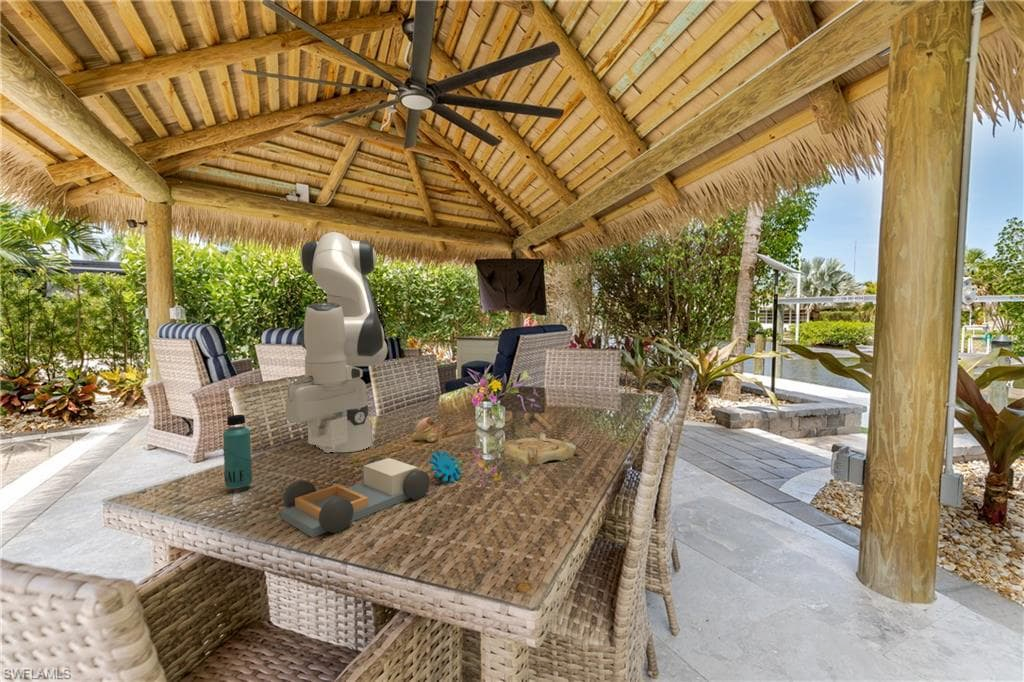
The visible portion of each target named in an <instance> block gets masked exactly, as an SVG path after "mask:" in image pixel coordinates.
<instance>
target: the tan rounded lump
mask: <svg viewBox="0 0 1024 682" xmlns="http://www.w3.org/2000/svg"><path fill="white" fill-rule="evenodd" d="M437 423H438V421H437V420H433V419H431V417H430V416H427V417H424V418H422V419H420V420H419V421H418V422H417V423H416V426H415V428H414V431H415V432H414V433H412V434H411V438H412V440H413V441H414V440H418V441H427V442H429V443H433V442H436V441H437V439H438V438H439V437H440V436H439V434H438V431H439V426H437V427H436V429H434V426H435V425H437Z"/></svg>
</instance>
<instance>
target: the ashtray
mask: <svg viewBox="0 0 1024 682" xmlns="http://www.w3.org/2000/svg"><path fill="white" fill-rule="evenodd" d="M501 445H502V447H503V450H504V451H503V456H504V457H506V458H507V459H509V460H513V461H514V460H515V461H514V462H518V463H520V464H522V463H523V464H522V465H527V464H529V465H528V466H537V464H540V465H542V464H544V463H546V462H548V461H555V460H556V461H561V462H564V461H563V460H565V461H567V460H566V459H568V458H569V459H571V458H570V457H572V456H573V457H574V455H575V453H576V451H577V447H578V445H577V444H576V443H572V442H568V441H566V440H559V439H556V438H549V437H547V434H546V433H544V432H540V433H539V436H538V437H524V438H519V439H509V440H505V441H503V442H501ZM573 457H572V458H573ZM569 459H568V460H569Z"/></svg>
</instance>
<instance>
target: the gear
mask: <svg viewBox="0 0 1024 682" xmlns="http://www.w3.org/2000/svg"><path fill="white" fill-rule="evenodd" d="M442 454H443V456H442ZM449 455H450V452H449V451H447V450H445V452H444V453H443V450H437V452H433V453H432V455H430V456H431V458H430V459H429V464H431V466H430V470H431V471H432V472H435V471H436V473H435V474H434V475H435V477H436V478H437V479H439V478H440V477H441V476H444V477H443V478H442V479H441V480H442V482H444V483H446V482H447V481H448V482H449V483H454V482H455V481H458V480H459V479H460V477H461V476H460V474H461V473H462V471H463V470H462V469H461V468H459V467H460V466H461V464H463V461H462V460H458V461H455V460H456V456H455V455H451V456H450V457H448V456H449ZM448 477H450V479H448Z"/></svg>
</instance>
